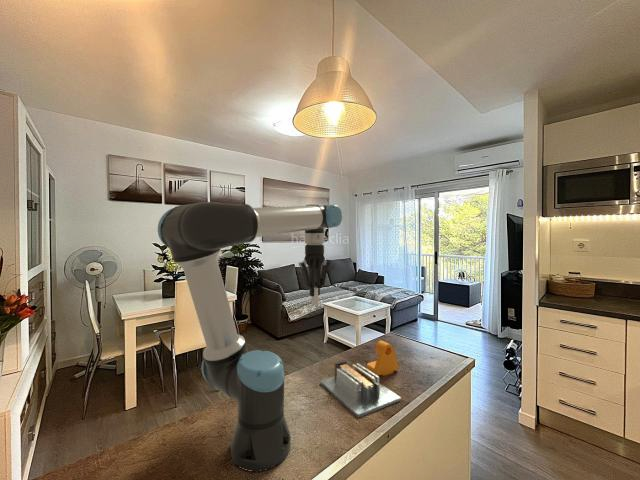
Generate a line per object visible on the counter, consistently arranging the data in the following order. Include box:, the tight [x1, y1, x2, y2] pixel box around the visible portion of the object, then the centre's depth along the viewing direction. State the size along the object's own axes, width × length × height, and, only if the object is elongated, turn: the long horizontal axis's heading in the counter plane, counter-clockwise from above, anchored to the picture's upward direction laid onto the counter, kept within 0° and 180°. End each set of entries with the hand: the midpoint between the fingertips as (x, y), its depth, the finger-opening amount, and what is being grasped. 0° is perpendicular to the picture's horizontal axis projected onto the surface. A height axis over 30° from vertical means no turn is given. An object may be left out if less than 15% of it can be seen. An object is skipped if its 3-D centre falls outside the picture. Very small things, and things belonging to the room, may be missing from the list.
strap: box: [340, 363, 376, 390], centre depth 99 cm, size 17×3×1 cm, turn 30°
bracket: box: [366, 340, 399, 377], centre depth 114 cm, size 11×7×12 cm, turn 120°
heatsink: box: [319, 360, 402, 419], centre depth 98 cm, size 23×18×6 cm
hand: (314, 304), depth 109 cm, fingers closed
